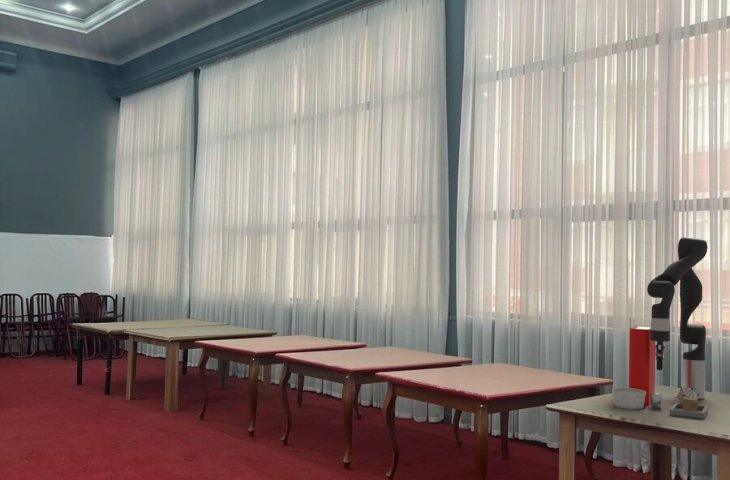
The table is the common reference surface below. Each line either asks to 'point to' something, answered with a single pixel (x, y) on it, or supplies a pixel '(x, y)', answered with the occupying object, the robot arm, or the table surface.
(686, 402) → the walnut cube
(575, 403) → the table surface
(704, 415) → the charcoal tray
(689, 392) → the game die
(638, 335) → the book
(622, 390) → the ramekin
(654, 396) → the steel cylinder
